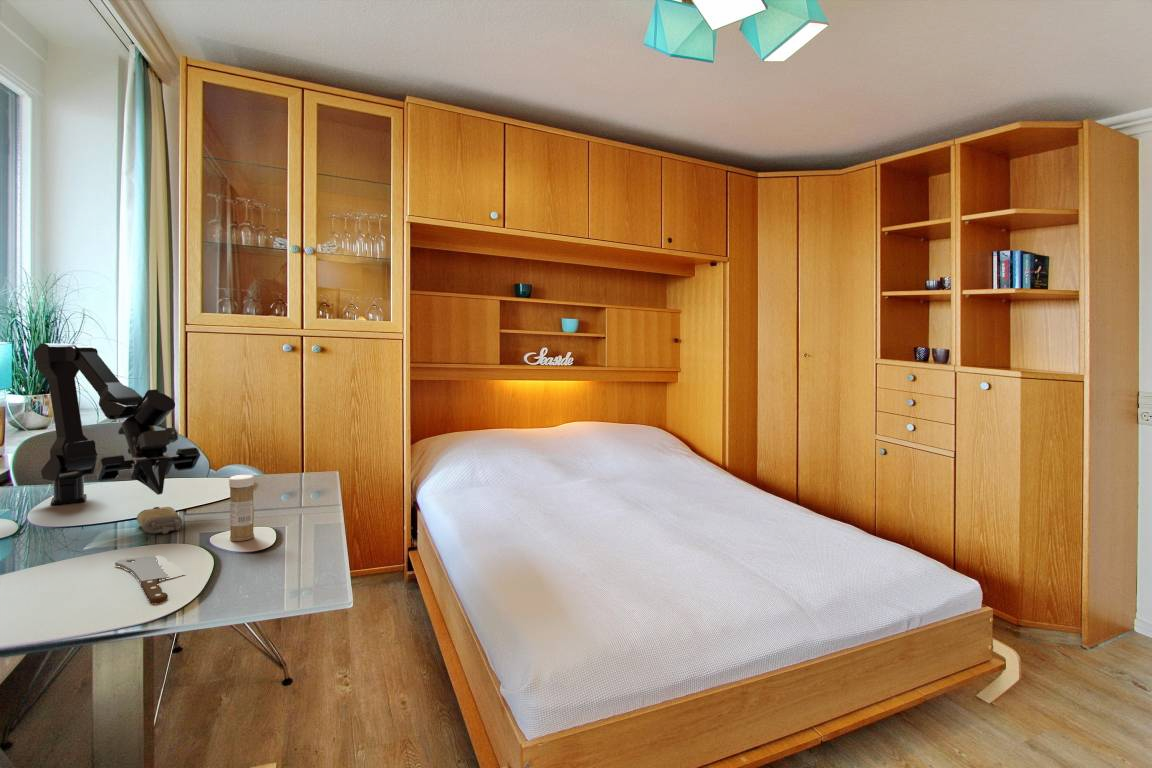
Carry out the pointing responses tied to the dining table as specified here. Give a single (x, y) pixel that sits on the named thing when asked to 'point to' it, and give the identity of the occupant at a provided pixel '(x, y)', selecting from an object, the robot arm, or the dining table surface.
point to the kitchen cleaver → (147, 575)
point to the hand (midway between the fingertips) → (160, 493)
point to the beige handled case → (159, 520)
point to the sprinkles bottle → (241, 507)
